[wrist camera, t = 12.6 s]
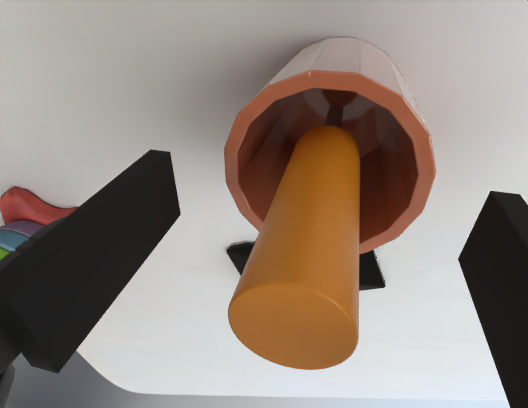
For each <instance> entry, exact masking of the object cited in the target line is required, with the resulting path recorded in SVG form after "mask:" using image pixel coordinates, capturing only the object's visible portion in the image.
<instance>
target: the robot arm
mask: <svg viewBox="0 0 528 408" xmlns="http://www.w3.org/2000/svg"><path fill="white" fill-rule="evenodd" d="M180 215H181V214H180V208H179V202H178V196H177V190H176V184H175V178H174V172H173V166H172V160H171V154H170V152H166V151H158V150H149V151H148V152H147V153H146V154H144V155H143V156H142V157H141V158H139V159H138V160H137V161H136V162H134V163H133V164H132V165H131V166H129V167H128V168H127V169H126V170H124V171H123V172H122V173H121V174H119V175H118V176H117V177H116V178H114V179H113V180H112V181H111V182H110V183H108V184H107V185H106V186H105V187H103V188H102V189H101V190H100V191H98V192H97V193H96V194H95V195H93V196H92V197H91V198H90V199H88V200H87V201H86V202H85V203H83V204H82V205H81V206H80V207H78V208H77V209H76V210H75V211H73V212H72V213H71V214H70V215H68V216H67V217H66V216H63V217H61V218H59V219H57V220H55V221H53V222H51V223H49V224H47V225H45V226H43V227H42V228H41V229H39V230H38V231H37V232H35V233H34V234H33V235H32V236H30V237H29V240H28V241H27V240H25V241H24V242H23V243H21V244H20V245H19V246H17V247H16V249H15V251H11V252H10V253H8V254H7V255H6V256H4V257H3V258H2V259H1V260H0V408H4V407H5V404H6V401H7V398H8V394H9V391H10V388H11V386H12V382H13V379H14V374H15V368H14V366H13V364H12V362H13V361H14V360H15V358H16V357H17V356H18V355H19V354H20V353H21V352H22V354H23V355H24V357H25V358H26V359H27V361H28V362H29V363H30V365H31V366H33V367H37V368H40V369H44V370H48V371H51V372H55V373H59V372H60V370H61V369H62V368H63V366H64V365H65V364H66V362H67V361H68V360H69V359H70V357H71V356H72V355H73V353H74V352H75V351H76V350H77V348H78V347H79V346H80V344H81V343H82V342H83V340H84V339H85V338H86V337H87V335H88V334H89V333H90V331H91V330H92V329H93V327H94V326H95V325H96V324H97V322H98V321H99V320H100V318H101V317H102V316H103V315H104V313H105V312H106V311H107V309H108V308H109V307H110V305H111V304H112V303H113V302H114V300H115V299H116V298H117V296H118V295H119V294H120V292H121V291H122V290H123V289H124V287H125V286H126V285H127V283H128V282H129V281H130V279H131V278H132V277H133V276H134V274H135V273H136V272H137V270H138V269H139V268H140V267H141V265H142V264H143V263H144V261H145V260H146V259H147V257H148V256H149V255H150V254H151V252H152V251H153V250H154V248H155V247H156V246H157V244H158V243H159V242H160V241H161V239H162V238H163V237H164V235H165V234H166V233H167V232H168V230H169V229H170V228H171V226H172V225H173V224H174V222H175V221H176V220H177V219H178V217H179V216H180ZM458 260H459V263H460V266H461V269H462V272H463V274H464V277H465V280H466V283H467V286H468V289H469V291H470V294H471V297H472V300H473V303H474V306H475V308H476V311H477V314H478V317H479V320H480V323H481V325H482V328H483V331H484V334H485V337H486V340H487V343H488V345H489V348H490V351H491V354H492V357H493V360H494V362H495V365H496V368H497V371H498V374H499V377H500V379H501V382H502V385H503V388H504V391H505V394H506V396H507V399H508V402H509V405H510V408H528V205H527V204H526V202H525V201H524V200H523V198H522V197H521V196H520V194H512V193H504V192H496V191H490V193H489V195H488V197H487V199H486V201H485V204H484V206H483V208H482V210H481V212H480V214H479V216H478V218H477V220H476V222H475V225H474V227H473V229H472V231H471V233H470V235H469V237H468V239H467V241H466V243H465V246H464V248H463V250H462V252H461V254H460V256H459V258H458Z"/></svg>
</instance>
